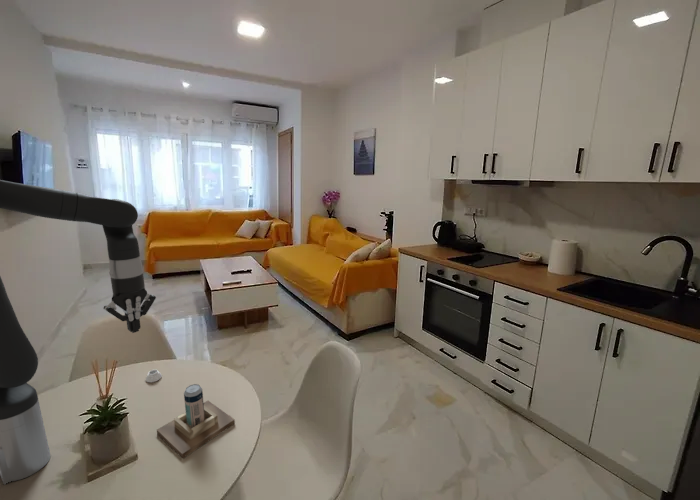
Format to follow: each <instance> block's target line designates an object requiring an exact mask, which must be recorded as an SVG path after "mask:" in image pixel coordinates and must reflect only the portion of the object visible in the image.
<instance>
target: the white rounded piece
mask: <svg viewBox="0 0 700 500" xmlns="http://www.w3.org/2000/svg"><path fill="white" fill-rule="evenodd" d="M162 376H163V375H162V373H161V372H160V371H159V370H158V369H151V370H149V371H148V372H147V375H146V377H145V381H146V382H147V383H155V382H158V381H159V380H160V379H162Z"/></svg>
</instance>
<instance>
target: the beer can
mask: <svg viewBox="0 0 700 500" xmlns="http://www.w3.org/2000/svg"><path fill="white" fill-rule="evenodd" d="M183 399H184V407H185V412H186V419H187V426H188V427H190V428H191V429H192V428H193V427H195V426H196V425H198V424H200V423H201V422H203V421H205V415H204V393H203V387H201V386H200V385H199V384H195V383H194V384H189V385H188V386H187V387H186V388H185V390H184V392H183Z"/></svg>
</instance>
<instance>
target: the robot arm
mask: <svg viewBox="0 0 700 500" xmlns="http://www.w3.org/2000/svg"><path fill="white" fill-rule="evenodd" d="M0 209H2V210H9V211H14V212H18V213H23V214H26V215H32V216H36V217H40V218H46V219H52V220H61V221H70V222H78V223H79V222H81V223H90V224H94V225H95V224H96V225H100V226H101V227H102V229H103V232H104V236H105V240H106V247H107V254H108V256H107V257H108V261H109V262H108V270H109V272H108V273H109V277H110V282H111V283H110V284H111V289H112V291H111V292H112V297H111V302H110V303H109V304H108V305H107V304H106V305H103V310H104V311H106V312H108V313H109V314H111V315H112V316H114V317H115V318H116V319H118V320H120V321H121V322H126V327H127V330H128V331H129V332H130V333H132V334H134V333H137V332H139V331H140V329H141V317H143V316H145V315H147V314H148V312H149V310H150V309H151V307H152V305H153V304H154V302H155V300H156V299H157V297H156V296H155V295H154V294H152V293H148V292H147V289H146V287H145V286H146V285H145V277H144V270H143V263H142V259H141V255H140V247H139V241H138V239H137V237H136V235H135V234H134V229H133V225H134V224H136V222H137V221H138V218H139V217H138V216H139V213H138V210H137V208H136V207H135V206H134V205H133V204H132V203H130V202H128V201H126V200H122V199H118V198H110V199H109V198H106V197H105V198H103V197H97V196H91V195H87V194H84V193H81V192H75V191H70V190H64V189H58V188H52V187H47V186H46V187H44V186H40V185H34V184H33V185H32V184H26V183H19V182H13V181H8V180H3V179H2V180H1V179H0ZM116 306H117V307H118V308H120V309H122V312H123V314H124V315H123V314H121V313H120V312H118V311H117V309H118V308H117V307H116ZM37 354H38V353H37V352H36V350H35V348H34V346H33V345H32V343H31V341H30V340H29V338H28V337H27V335H26V333H25V331H24V330H23V327H22V326H21V324H20V322H19V320H18V317H17V314H16V312H15V310H14V308H13V306H12V303H11V301H10V298H9V295H8V292H7V290H6V287H5V285H4V282H3V279H2V277H1V276H0V479H1V480H2V484H3V485H7V484H8V482H9V483H11V481H12V482H15V481H20V480H23V479H25V478H28V477H30V476H32V475H34V474H36V473H38V472H39V471H40V470H42V468H44V467H45V466H46V465H47V464H48V462H49V461H50V459H51V452H50V451H51V450H50V447H49V443H48V438H47V433H46V428H45V425H44V419H43V415H42V410H41V409H42V408H41V405H40V401H39V396H38V392H37V389H35V388H34V386H32V385H31V384H29V382H30V380H32V379H33V377H34V375H36V373H37V370H38V366H39V357H38V355H37ZM6 483H7V484H6Z"/></svg>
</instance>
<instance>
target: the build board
mask: <svg viewBox="0 0 700 500" xmlns="http://www.w3.org/2000/svg"><path fill="white" fill-rule="evenodd" d="M203 403H204V415H205V421H203V422H201V423H200V424H198V425H196V426H195V427H193V428H192V429H191V428H190V427H188V426H187V419H186V411H185V412H184V413H182V414H180V415H179V416H176V417H175V418H173V420H171V421H170V422H167V423H166V424H165V425H162V426H161V427H159V428H157V429H156V434H157V436H159V438H161V439H162V440H163V441H164V442H165V443H166V444H167V445H168V446H169V447H170V448H171V449H172V450H173V451H174V452H175V453H176V454H177V455H178V456H179V457H180V458H182V459H185V458H186V457H189V455H191V454H192V453H194V452H195V451H196V450H198V449H199V448H201V447H202V446H204V445H206V444H207V443H209V441H211V440H213V439H214V438H216V437H217V436H219V435H220V434H222V433H223V432H225V431H227V429H229V428H231V427H232V426H233V425H235V423H236V420H235V419H234V418H233V417H232V416H230V415H229V414H228V413H227V412H225V411H223V410H222V409H221V408H219V407H218V406H217V405H215V404H214V403H212V402H211V401H209V400H206V401H203Z"/></svg>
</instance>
